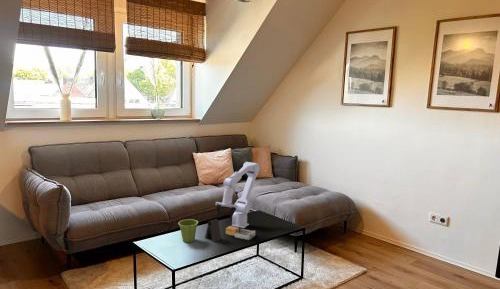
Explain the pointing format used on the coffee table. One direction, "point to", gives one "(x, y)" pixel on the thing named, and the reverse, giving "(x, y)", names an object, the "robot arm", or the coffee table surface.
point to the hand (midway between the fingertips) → (224, 218)
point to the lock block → (232, 230)
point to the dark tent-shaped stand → (213, 231)
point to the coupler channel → (249, 235)
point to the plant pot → (188, 229)
